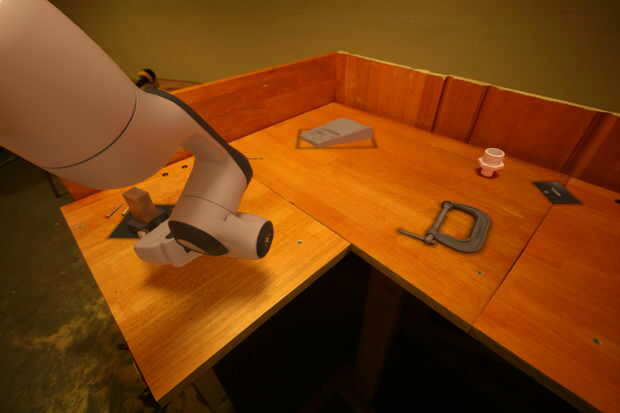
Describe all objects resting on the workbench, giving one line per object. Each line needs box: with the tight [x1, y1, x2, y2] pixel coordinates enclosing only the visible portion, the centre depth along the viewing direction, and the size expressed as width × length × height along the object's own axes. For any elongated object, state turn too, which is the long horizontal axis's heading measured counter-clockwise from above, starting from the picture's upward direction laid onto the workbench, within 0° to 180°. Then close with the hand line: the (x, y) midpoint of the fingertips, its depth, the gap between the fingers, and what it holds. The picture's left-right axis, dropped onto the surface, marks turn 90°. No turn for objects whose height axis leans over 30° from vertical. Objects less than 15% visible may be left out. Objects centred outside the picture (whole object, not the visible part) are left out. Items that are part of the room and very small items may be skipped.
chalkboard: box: [108, 204, 176, 239], centre depth 80 cm, size 22×13×1 cm, turn 88°
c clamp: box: [398, 199, 491, 254], centre depth 75 cm, size 20×17×3 cm
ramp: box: [298, 117, 374, 149], centre depth 114 cm, size 28×16×5 cm, turn 89°
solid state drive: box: [533, 181, 581, 205], centre depth 85 cm, size 7×10×1 cm
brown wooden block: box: [121, 186, 168, 233], centre depth 76 cm, size 8×5×10 cm, turn 151°
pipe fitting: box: [477, 147, 506, 177], centre depth 92 cm, size 6×7×8 cm
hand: (158, 221), depth 68 cm, fingers open, 8 cm apart
